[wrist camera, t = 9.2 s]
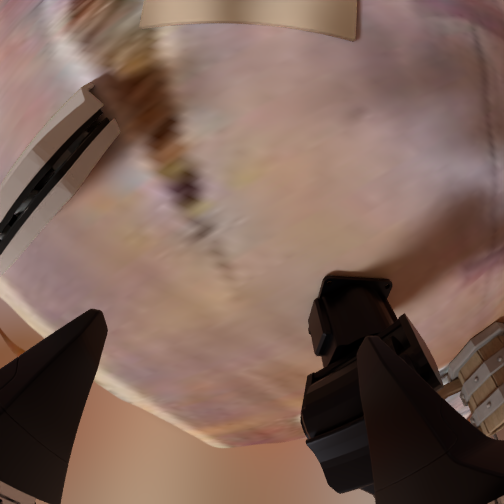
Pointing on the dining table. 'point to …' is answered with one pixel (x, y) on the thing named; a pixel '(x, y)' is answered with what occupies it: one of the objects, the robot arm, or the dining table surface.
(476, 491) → the robot arm
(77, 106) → the grey piece
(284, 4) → the ring holder
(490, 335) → the tankard
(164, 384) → the dining table surface
